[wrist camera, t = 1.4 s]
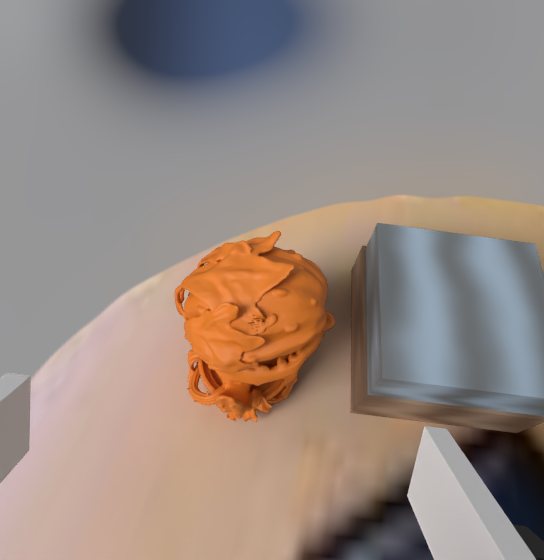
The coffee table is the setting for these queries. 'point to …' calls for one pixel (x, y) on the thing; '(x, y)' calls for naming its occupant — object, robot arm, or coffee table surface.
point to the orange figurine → (251, 323)
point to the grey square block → (448, 329)
